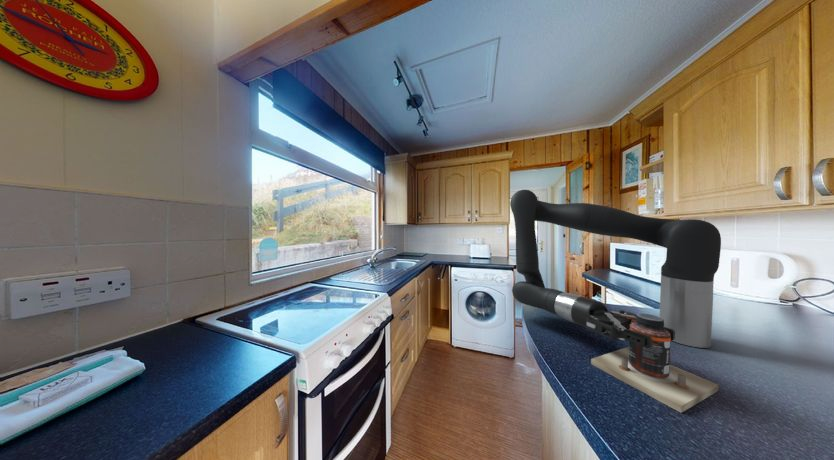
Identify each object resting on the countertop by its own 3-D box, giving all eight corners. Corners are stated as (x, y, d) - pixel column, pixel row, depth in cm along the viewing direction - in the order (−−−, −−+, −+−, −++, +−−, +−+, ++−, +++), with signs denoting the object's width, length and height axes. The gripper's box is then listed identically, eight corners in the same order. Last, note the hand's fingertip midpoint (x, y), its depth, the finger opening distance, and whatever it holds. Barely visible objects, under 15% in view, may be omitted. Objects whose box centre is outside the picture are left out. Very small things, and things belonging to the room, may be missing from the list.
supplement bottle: (679, 381, 43) (681, 324, 43) (642, 377, 44) (644, 321, 44) (653, 363, 49) (655, 312, 49) (621, 359, 50) (623, 310, 50)
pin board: (627, 351, 56) (627, 339, 56) (718, 390, 43) (718, 374, 42) (591, 364, 51) (591, 350, 50) (681, 413, 38) (681, 394, 37)
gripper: (560, 299, 57) (643, 326, 42) (596, 293, 62) (682, 315, 47) (560, 328, 57) (642, 365, 42) (595, 319, 62) (680, 350, 47)
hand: (663, 339), depth 45 cm, fingers open, 8 cm apart
